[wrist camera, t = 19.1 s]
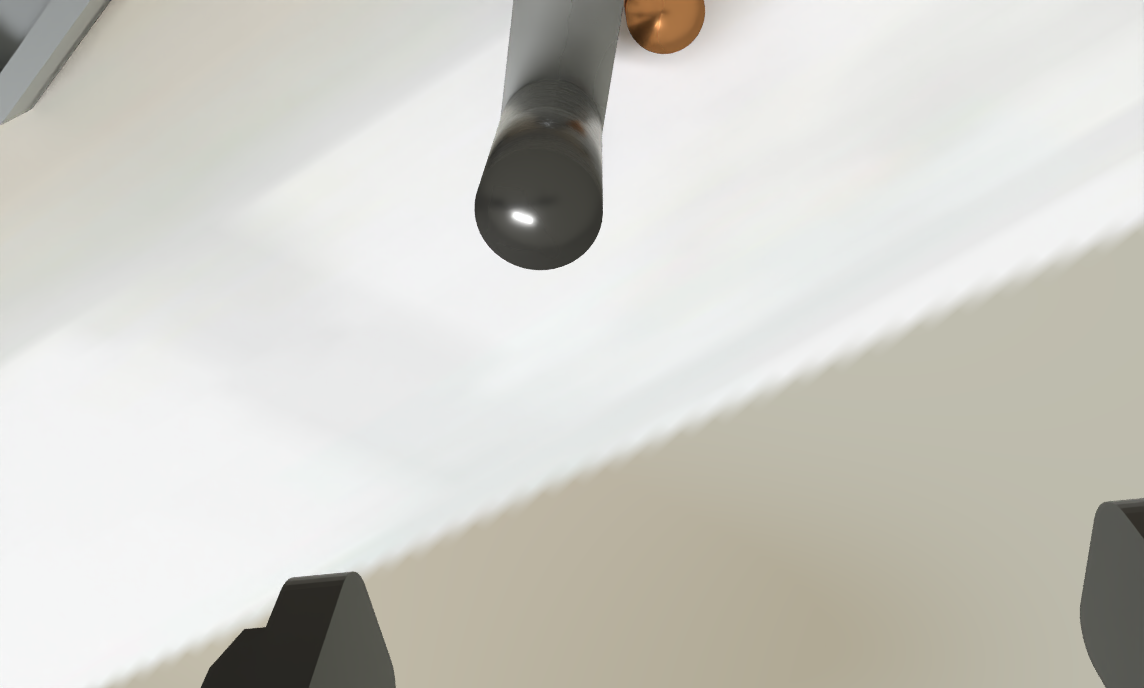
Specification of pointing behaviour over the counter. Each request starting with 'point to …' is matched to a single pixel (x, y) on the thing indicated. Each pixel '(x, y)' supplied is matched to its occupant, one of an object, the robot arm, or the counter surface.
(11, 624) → the counter surface
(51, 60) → the tray
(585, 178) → the crank
